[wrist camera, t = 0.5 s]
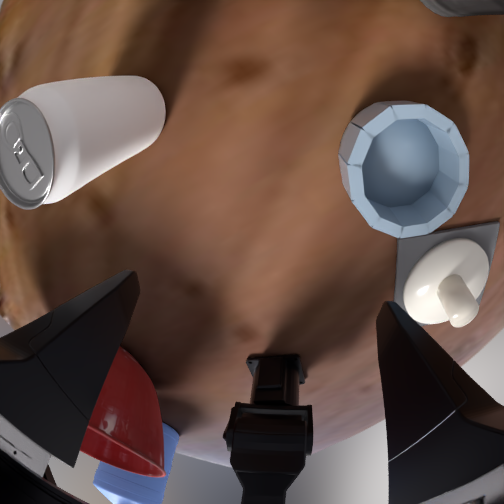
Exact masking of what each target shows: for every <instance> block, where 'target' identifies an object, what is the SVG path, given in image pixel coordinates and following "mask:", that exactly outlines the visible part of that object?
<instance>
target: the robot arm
mask: <svg viewBox="0 0 504 504" xmlns="http://www.w3.org/2000/svg"><path fill="white" fill-rule="evenodd" d="M139 294H140V286H139V281H138V277H137V273H136V272H135V271H133V270H124V271H122V272H120V273H118V274H116V275H114V276H113V277H111V278H109V279H107V280H105V281H103V282H102V283H100V284H98V285H96V286H94V287H92V288H91V289H89V290H87V291H85V292H83V293H82V294H80V295H78V296H76V297H75V298H73V299H71V300H69V301H68V302H66V303H64V304H62V305H61V306H59V307H57V308H55V309H54V310H52V311H50V312H49V313H47V314H45V315H43V316H42V317H40V318H38V319H36V320H34V321H33V322H31V323H29V324H27V325H25V326H23V327H21V328H19V329H17V330H15V331H13V332H11V333H9V334H7V335H5V336H3V337H1V338H0V504H89V503H87V502H85V501H83V500H81V499H79V498H77V497H75V496H73V495H71V494H70V493H68V492H66V491H64V490H62V489H61V488H59V487H57V485H56V483H55V480H54V478H53V475H52V473H51V470H50V467H49V465H48V462H49V459H50V457H51V456H53V457H54V458H56V459H57V460H59V461H61V462H63V463H65V464H66V465H68V466H70V467H72V468H74V466H75V463H76V460H77V457H78V454H79V451H80V447H81V444H82V441H83V439H84V436H85V433H86V430H87V427H88V424H89V421H90V418H91V415H92V413H93V410H94V407H95V405H96V402H97V400H98V397H99V394H100V392H101V389H102V387H103V384H104V382H105V379H106V377H107V375H108V372H109V370H110V367H111V365H112V363H113V360H114V358H115V356H116V353H117V351H118V349H119V347H120V344H121V342H122V340H123V338H124V335H125V333H126V331H127V329H128V326H129V323H130V320H131V317H132V315H133V312H134V309H135V306H136V303H137V300H138V297H139ZM376 330H377V347H378V361H379V369H380V375H381V383H382V391H383V399H384V408H385V418H386V430H387V445H388V461H389V462H388V471H389V504H504V406H502V405H501V404H499V403H498V402H496V401H495V400H494V399H493V398H492V397H491V396H490V395H489V394H488V393H487V392H486V391H485V390H484V389H483V388H481V387H480V386H479V385H478V384H477V383H476V382H475V381H474V380H473V379H472V378H471V377H470V376H469V375H468V374H467V373H466V372H465V371H464V370H463V369H462V368H461V367H460V366H459V365H458V364H457V363H456V362H455V361H453V358H452V357H451V356H450V355H449V354H448V353H447V352H446V351H445V350H444V349H443V348H442V347H441V346H440V345H439V344H438V343H437V342H436V341H435V340H434V339H433V338H432V337H431V336H430V335H429V334H428V333H427V332H426V331H425V330H424V329H423V328H422V327H421V326H420V325H419V324H418V323H417V322H416V321H415V320H414V319H413V318H412V317H411V316H410V315H409V314H408V313H407V312H406V311H405V310H404V309H403V308H401V307H400V306H399V305H398V304H397V303H396V302H394V301H385V302H384V303H383V305H382V307H381V310H380V312H379V314H378V316H377V319H376ZM246 363H247V366H248V368H249V370H250V372H251V374H252V376H253V384H252V391H251V398H250V404H247V403H241V402H236V403H235V407H233V408H232V409H231V415H230V419H229V422H228V424H227V427H226V429H225V431H224V433H223V438H224V440H225V441H226V444H227V450H228V451H230V452H231V457H230V463H231V465H232V467H233V469H234V471H235V473H236V475H237V477H238V479H239V481H240V483H241V485H242V487H243V495H242V502H241V504H285V498H286V491H287V489H288V488H289V487H290V486H291V484H292V483H293V482H294V480H295V479H296V478H297V476H298V475H299V474H300V472H301V471H302V470H303V468H304V466H305V458H306V456H309V455H311V453H312V446H313V417H312V405H307V406H299V385H300V384H304V383H305V378H304V374H303V369H302V364H301V360H300V356H299V355H297V354H294V355H283V356H271V357H255V358H247V360H246Z"/></svg>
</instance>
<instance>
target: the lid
mask: <svg viewBox="0 0 504 504" xmlns="http://www.w3.org/2000/svg"><path fill="white" fill-rule="evenodd" d="M488 273H489V262H488V258H487V255H486V253H485V251H484V250H483V249H482V248H481V247H480V246H479V244H478V243H476V242H475V241H473V240H471V239H467V238H454V239H450V240H447V241H444V242H442V243H440V244H438V245H436V246H435V247H433V248H432V249H430V250H429V251H428V252H426V253H425V254H424V255H423V256H422V257H421V258H420V259H419V260H418V261H417V263H416V264H415V265H414V266H413V268H412V269H411V271H410V273H409V274H408V277H407V279H406V281H405V284H404V288H403V302H404V305H405V307H406V310H407V312H408V314H409V315H410V316H411V317H412V318H413V319H414V320H416V321H418V322H420V323H424V324H437V323H442V322H445V321H448V320H450V322H451V324H452V326H454V327H462V326H464V325H466V324H468V323H469V322H471V321H472V320H473V319H474V318H475V316H476V315H477V313H478V310H479V305H478V303H477V301H476V299H477V298H478V296H479V295H480V293H481V292H482V290H483V288H484V286H485V284H486V281H487V278H488Z"/></svg>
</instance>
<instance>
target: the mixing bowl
mask: <svg viewBox="0 0 504 504" xmlns="http://www.w3.org/2000/svg"><path fill="white" fill-rule="evenodd" d="M80 451H82V452H84V453H86V454H88V455H89V456H91V457H94V458H96V459H98V460H100V461H102V462H104V463H107V464H109V465H112V466H114V467H117V468H120V469H122V470H125V471H129V472H132V473H135V474H139V475H144V476H149V477H165V476H166V472H165V470H164V437H163V426H162V419H161V412H160V407H159V402H158V397H157V393H156V390H155V388H154V386H153V383H152V381H151V379H150V378H149V376H148V375H147V373H146V372H145V371H144V369H143V368H142V367H141V365H140V364H139V363H138V362H137V361H136V359H135V358H134V357H133V356H132V355H130V354H129V353H128V352H127V351H126V350H124V349H123V348H122V347H119V349H118V351H117V353H116V356H115V358H114V360H113V363H112V365H111V367H110V370H109V372H108V375H107V377H106V379H105V382H104V384H103V387H102V389H101V392H100V394H99V397H98V400H97V402H96V405H95V407H94V410H93V413H92V415H91V418H90V421H89V424H88V427H87V430H86V433H85V436H84V439H83V441H82V444H81V447H80Z"/></svg>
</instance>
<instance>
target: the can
mask: <svg viewBox="0 0 504 504" xmlns="http://www.w3.org/2000/svg"><path fill="white" fill-rule="evenodd" d="M165 114H166V111H165V103H164V99H163V97H162V94H161V92H160V91H159V89H158V88H157V87H156V86H155V85H154V84H153V83H152V82H151V81H149V80H148V79H146V78H143V77H140V76H104V77H91V78H81V79H72V80H65V81H58V82H52V83H46V84H42V85H38V86H35V87H32V88H30V89H28V90H27V91H25V92H24V93H23V94H21V95H20V96H19V97H18V98H15V99H12V100H10V101H8V102H7V103H5V104H4V105H3V106H2V108H1V109H0V189H1V190H2V192H3V193H4V195H5V196H6V197H7V198H8V199H9V200H10V201H11V202H12V203H13V204H14V205H16V206H18V207H20V208H22V209H27V210H31V209H35V208H37V207H39V206H40V205H42V204H50V203H55V202H58V201H60V200H62V199H64V198H65V197H67V196H68V195H70V194H71V193H73V192H74V191H76V190H78V189H79V188H81V187H82V186H84V185H85V184H87V183H88V182H90V181H91V180H93V179H95V178H96V177H98V176H99V175H101V174H103V173H104V172H106V171H108V170H109V169H111V168H113V167H114V166H116V165H118V164H119V163H121V162H123V161H125V160H126V159H128V158H130V157H132V156H133V155H135V154H137V153H139V152H141V151H142V150H144V149H146V148H147V147H149V146H150V145H151V144H152V143H153V142H154V141H155V140H156V139H157V138H158V136H159V135H160V133H161V131H162V128H163V125H164V122H165Z"/></svg>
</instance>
